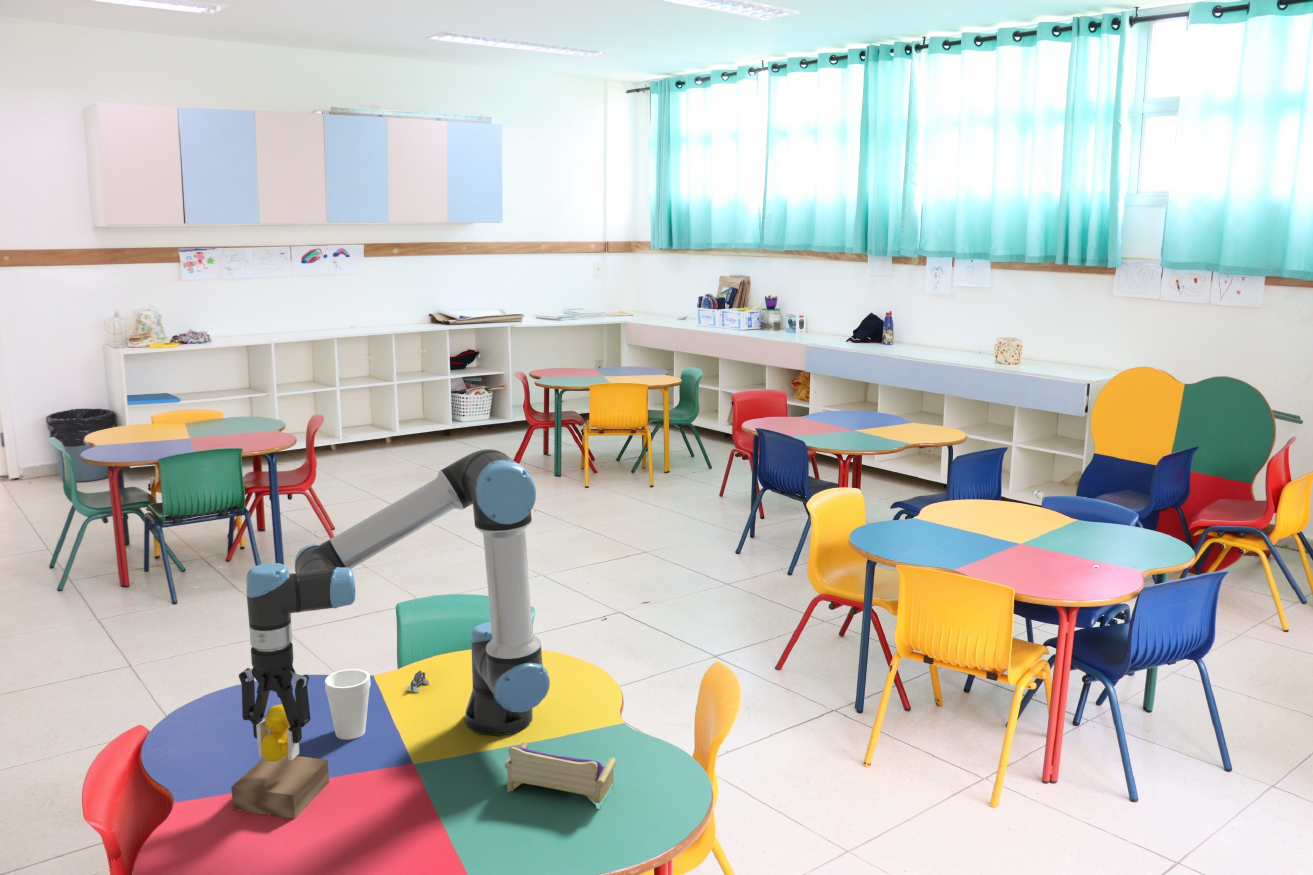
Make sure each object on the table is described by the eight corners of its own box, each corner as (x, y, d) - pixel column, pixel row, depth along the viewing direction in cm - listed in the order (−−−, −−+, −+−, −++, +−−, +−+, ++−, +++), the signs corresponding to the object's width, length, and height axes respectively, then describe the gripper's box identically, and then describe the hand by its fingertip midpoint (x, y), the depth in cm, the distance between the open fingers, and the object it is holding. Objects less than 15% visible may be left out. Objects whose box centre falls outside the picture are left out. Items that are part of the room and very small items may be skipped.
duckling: (276, 739, 206) (273, 694, 204) (303, 740, 206) (300, 694, 204) (254, 769, 195) (250, 721, 193) (282, 770, 195) (279, 722, 193)
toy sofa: (617, 788, 207) (617, 742, 205) (602, 811, 199) (603, 764, 197) (521, 771, 213) (520, 726, 211) (504, 793, 205) (503, 746, 202)
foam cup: (378, 723, 231) (376, 670, 228) (363, 744, 222) (360, 689, 219) (338, 721, 232) (335, 667, 229) (321, 741, 223) (317, 686, 220)
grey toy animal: (422, 697, 244) (422, 680, 243) (398, 692, 247) (398, 675, 246) (455, 672, 258) (455, 655, 257) (432, 667, 260) (432, 651, 259)
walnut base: (329, 782, 207) (327, 759, 206) (294, 818, 195) (293, 795, 194) (270, 774, 210) (269, 752, 208) (233, 810, 197) (231, 786, 196)
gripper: (215, 647, 193) (224, 758, 198) (306, 657, 190) (312, 770, 195) (238, 631, 200) (246, 739, 205) (326, 641, 197) (332, 750, 202)
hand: (278, 754), depth 200 cm, fingers closed on duckling, 6 cm apart
